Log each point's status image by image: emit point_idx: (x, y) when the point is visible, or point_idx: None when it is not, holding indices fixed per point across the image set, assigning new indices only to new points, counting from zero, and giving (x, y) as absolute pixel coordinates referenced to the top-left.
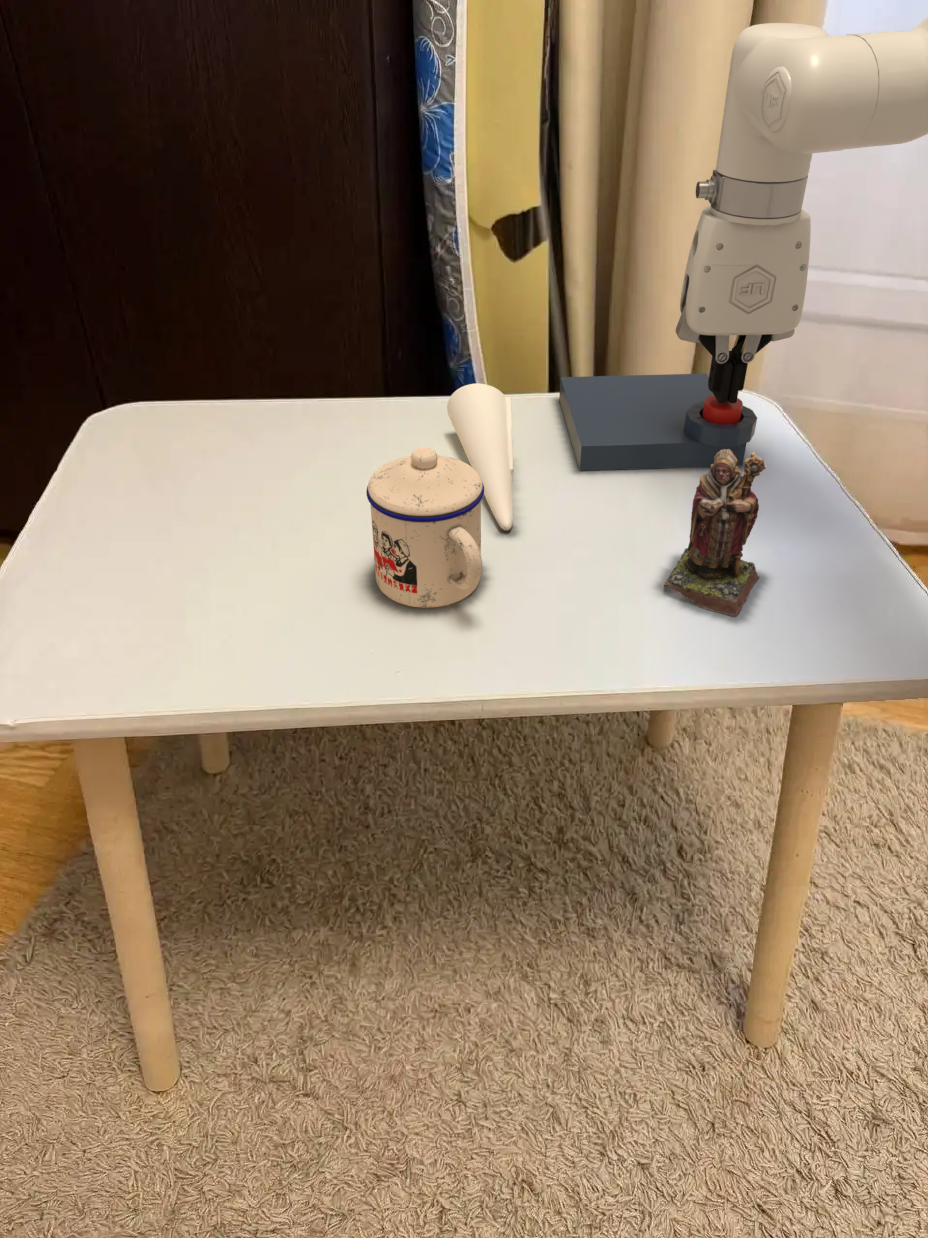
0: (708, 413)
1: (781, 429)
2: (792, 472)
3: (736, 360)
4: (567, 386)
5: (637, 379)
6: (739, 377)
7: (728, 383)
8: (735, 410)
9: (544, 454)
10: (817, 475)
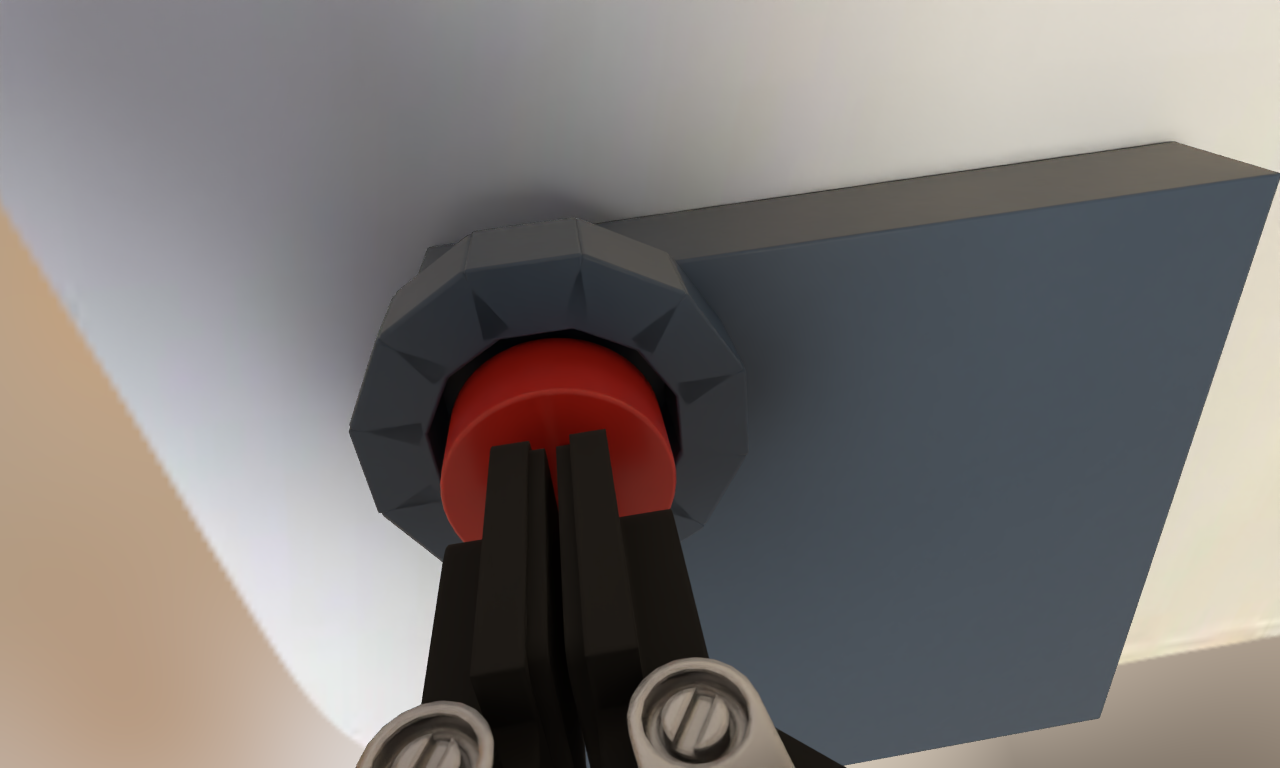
0: (651, 400)
1: (255, 569)
2: (172, 208)
3: (531, 725)
4: (1103, 665)
5: (828, 744)
6: (491, 573)
7: (576, 523)
8: (492, 402)
9: (1252, 276)
10: (32, 186)
